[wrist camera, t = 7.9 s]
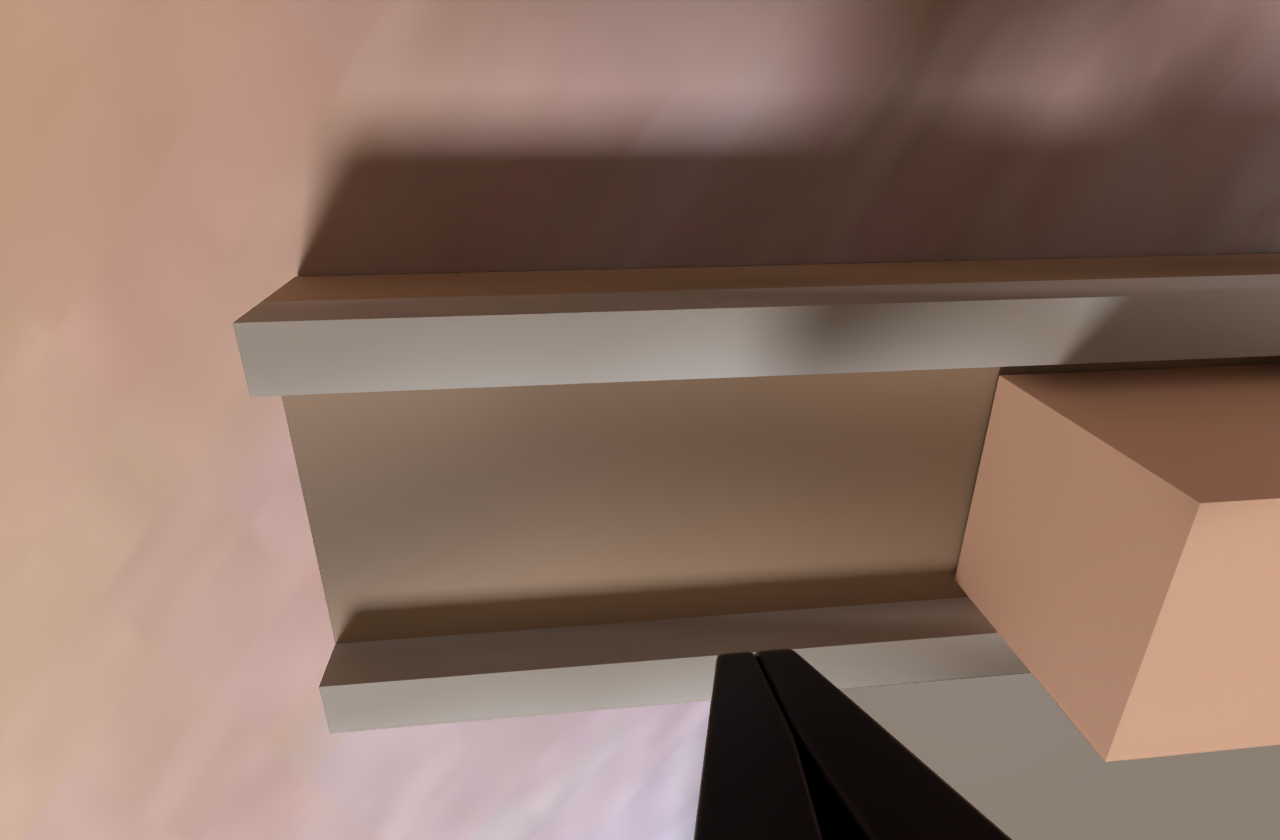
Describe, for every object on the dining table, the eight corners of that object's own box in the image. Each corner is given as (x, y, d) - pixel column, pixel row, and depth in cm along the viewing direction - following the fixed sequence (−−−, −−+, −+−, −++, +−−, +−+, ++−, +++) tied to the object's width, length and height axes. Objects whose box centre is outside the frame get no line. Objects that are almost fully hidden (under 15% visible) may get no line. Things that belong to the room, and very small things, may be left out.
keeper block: (1204, 561, 14) (1435, 728, 10) (954, 580, 13) (1105, 762, 10) (1280, 363, 12) (1587, 479, 9) (998, 375, 12) (1199, 502, 8)
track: (1175, 572, 16) (1357, 712, 12) (364, 630, 14) (301, 814, 11) (1293, 252, 13) (1575, 314, 10) (295, 277, 11) (178, 363, 8)
